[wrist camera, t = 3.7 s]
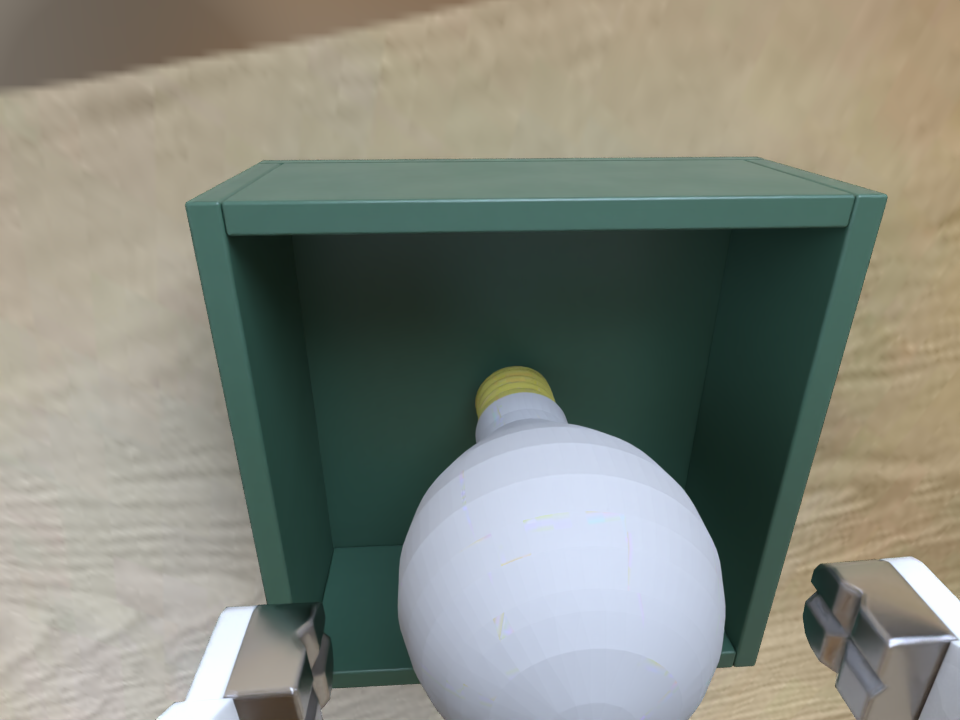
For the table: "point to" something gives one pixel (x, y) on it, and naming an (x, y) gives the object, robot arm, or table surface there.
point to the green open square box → (520, 349)
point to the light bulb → (558, 574)
